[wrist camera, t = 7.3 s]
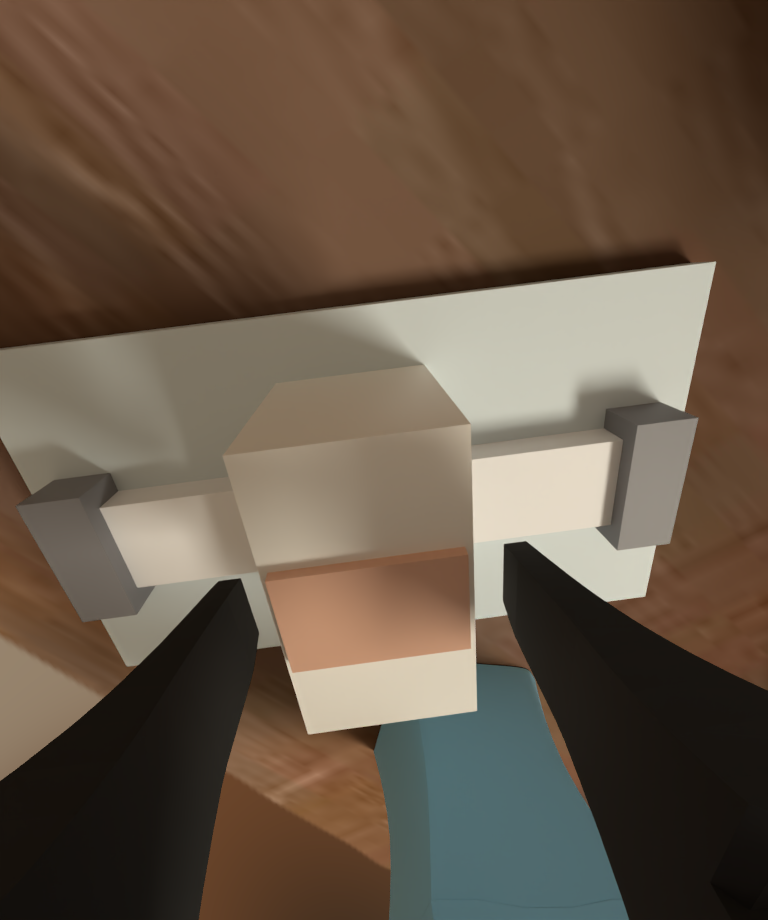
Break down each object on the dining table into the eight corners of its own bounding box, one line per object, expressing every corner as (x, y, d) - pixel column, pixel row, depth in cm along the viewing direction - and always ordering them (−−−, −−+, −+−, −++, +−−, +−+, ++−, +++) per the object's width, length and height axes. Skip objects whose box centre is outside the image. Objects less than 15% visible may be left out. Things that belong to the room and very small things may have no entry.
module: (424, 364, 14) (474, 429, 8) (438, 573, 17) (480, 721, 12) (275, 383, 13) (217, 462, 8) (322, 589, 17) (307, 745, 12)
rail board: (692, 262, 14) (769, 259, 11) (631, 581, 20) (672, 626, 17) (-18, 350, 13) (-105, 368, 11) (137, 648, 19) (104, 704, 17)
